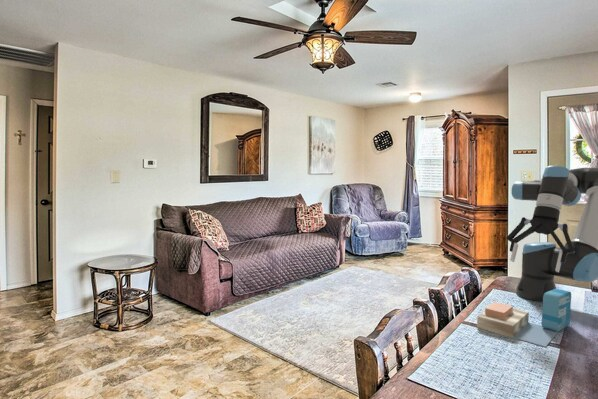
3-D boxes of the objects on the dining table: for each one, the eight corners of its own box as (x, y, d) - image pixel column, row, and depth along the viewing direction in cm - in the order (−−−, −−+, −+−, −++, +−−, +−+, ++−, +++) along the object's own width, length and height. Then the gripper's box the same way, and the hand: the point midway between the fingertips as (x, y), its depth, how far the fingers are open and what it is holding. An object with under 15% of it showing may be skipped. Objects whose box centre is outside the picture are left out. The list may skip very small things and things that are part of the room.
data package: (556, 332, 122) (558, 296, 122) (540, 328, 126) (543, 293, 125) (569, 325, 129) (571, 290, 129) (554, 320, 133) (556, 287, 132)
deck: (494, 314, 139) (495, 303, 139) (528, 323, 131) (528, 311, 131) (477, 327, 127) (477, 316, 127) (512, 337, 119) (513, 325, 119)
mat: (528, 323, 131) (528, 322, 131) (558, 330, 125) (559, 330, 125) (512, 337, 119) (512, 336, 119) (545, 347, 113) (545, 346, 113)
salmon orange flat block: (494, 307, 135) (494, 301, 135) (512, 311, 131) (512, 306, 131) (485, 313, 129) (485, 308, 129) (503, 318, 125) (504, 312, 124)
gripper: (506, 200, 138) (492, 255, 135) (590, 210, 121) (576, 274, 118) (511, 206, 143) (497, 259, 140) (592, 217, 126) (579, 278, 123)
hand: (533, 266), depth 129 cm, fingers open, 13 cm apart
